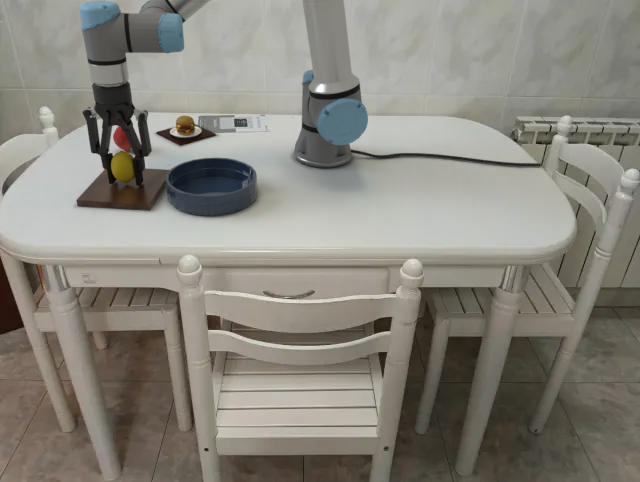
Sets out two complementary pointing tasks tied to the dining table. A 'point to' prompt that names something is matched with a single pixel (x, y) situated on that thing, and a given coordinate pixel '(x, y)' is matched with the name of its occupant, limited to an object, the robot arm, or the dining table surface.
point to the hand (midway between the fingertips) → (126, 182)
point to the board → (125, 191)
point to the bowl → (211, 186)
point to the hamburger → (185, 131)
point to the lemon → (123, 166)
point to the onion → (121, 139)
